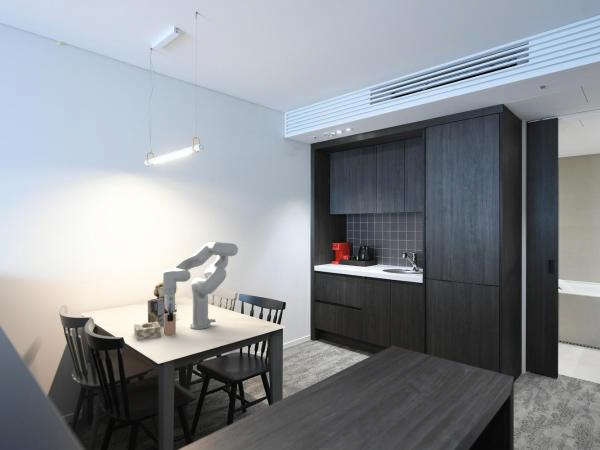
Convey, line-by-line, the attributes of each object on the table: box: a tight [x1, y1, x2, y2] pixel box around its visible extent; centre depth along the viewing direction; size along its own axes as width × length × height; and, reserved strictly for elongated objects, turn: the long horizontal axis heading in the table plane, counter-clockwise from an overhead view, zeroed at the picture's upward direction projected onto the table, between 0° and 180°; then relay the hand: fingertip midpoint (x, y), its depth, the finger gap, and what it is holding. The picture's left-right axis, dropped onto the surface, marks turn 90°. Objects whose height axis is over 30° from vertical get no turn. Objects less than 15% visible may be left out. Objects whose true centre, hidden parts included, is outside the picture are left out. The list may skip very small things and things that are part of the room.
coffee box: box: [147, 298, 165, 327], centre depth 238 cm, size 9×6×16 cm
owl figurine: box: [153, 282, 165, 300], centre depth 298 cm, size 18×12×17 cm, turn 45°
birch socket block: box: [133, 322, 162, 341], centre depth 217 cm, size 13×13×6 cm
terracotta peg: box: [163, 312, 177, 336], centre depth 219 cm, size 6×4×12 cm
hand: (168, 319), depth 219 cm, fingers open, 9 cm apart
